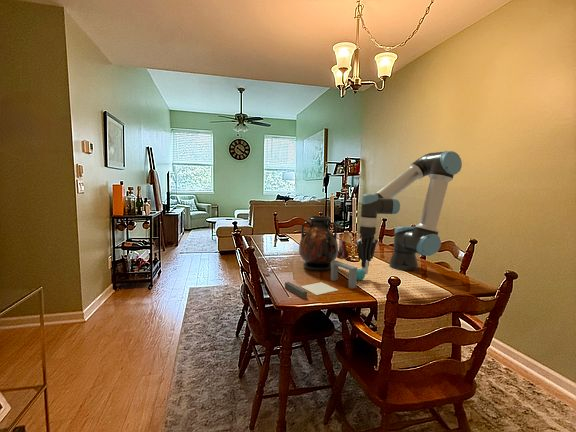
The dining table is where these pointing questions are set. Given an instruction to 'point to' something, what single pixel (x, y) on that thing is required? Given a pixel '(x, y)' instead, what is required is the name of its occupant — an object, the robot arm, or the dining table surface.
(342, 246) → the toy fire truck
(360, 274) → the ball
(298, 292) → the stopper
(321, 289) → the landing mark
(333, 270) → the bridge
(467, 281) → the dining table surface
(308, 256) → the amphora vase
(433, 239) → the robot arm
